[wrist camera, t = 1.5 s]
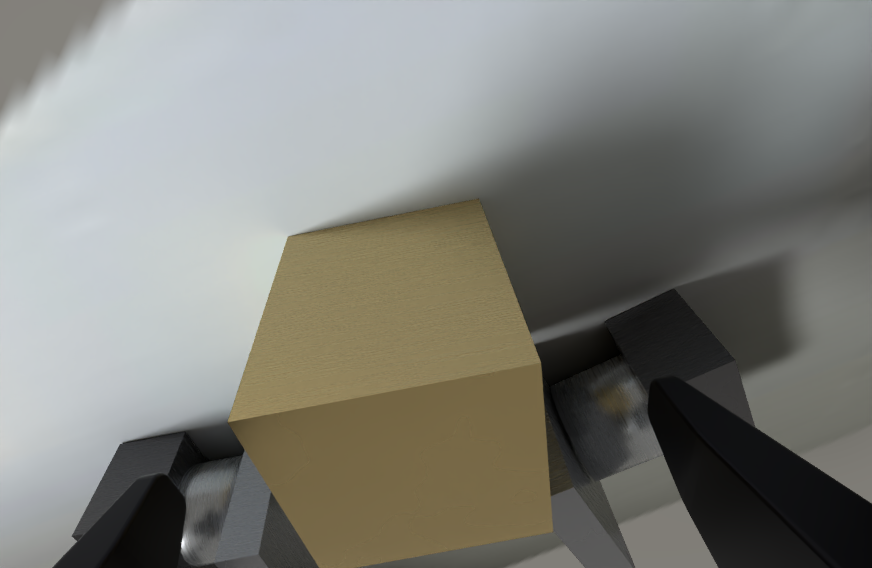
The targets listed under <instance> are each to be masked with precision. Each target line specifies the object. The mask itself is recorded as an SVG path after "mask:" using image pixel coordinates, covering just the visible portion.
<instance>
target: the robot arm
mask: <svg viewBox="0 0 872 568" xmlns="http://www.w3.org/2000/svg"><path fill="white" fill-rule="evenodd" d="M647 411H648V417H649V421H650V423H651V426H652V428H653V431H654V433H655V435H656V438H657V440H658V443H659V445H660V448H661V450H662V452H663V455H664V457H665V460H666V462H667V465H668V467H669V469H670V472H671V474H672V477H673V479H674V482H675V484H676V487H677V489H678V491H679V493H680V496H681V498H682V500H683V502H684V504H685V506H686V508H687V510H688V512H689V514H690V516H691V518H692V520H693V521H694V523H695V525H696V527H697V529H698V531H699V533H700V534H701V536H702V538H703V540H704V542H705V544H706V545H707V547H708V549H709V551H710V553H711V555H712V556H713V558H714V560H715V562H716V564H717V566H718V568H872V503H870V502H868V501H867V500H865V499H864V498H862V497H861V496H859V495H858V494H856V493H855V492H853V491H852V490H850V489H849V488H847V487H845V486H844V485H843V484H841V483H839V482H838V481H836V480H835V479H833V478H832V477H830V476H829V475H827V474H825V473H824V472H823V471H821V470H820V469H818V468H817V467H815V466H813V465H812V464H810V463H809V462H807V461H806V460H804V459H803V458H801V457H800V456H798V455H797V454H795V453H794V452H792V451H791V450H789V449H787V448H786V447H784V446H783V445H781V444H780V443H778V442H777V441H775V440H774V439H772V438H771V437H769V436H768V435H766V434H765V433H763V432H761V431H760V430H758V429H757V428H755V427H754V426H752V425H751V424H749V423H748V422H746V421H745V420H743V419H742V418H740V417H739V416H737V415H735V414H734V413H732V412H731V411H729V410H728V409H726V408H725V407H723V406H722V405H720V404H719V403H717V402H716V401H714V400H713V399H711V398H710V397H708V396H706V395H705V394H703V393H702V392H700V391H699V390H697V389H696V388H694V387H693V386H691V385H690V384H688V383H687V382H685V381H684V380H682V379H680V378H679V377H677V376H673V375H672V376H665V377H660V378H655V379H653V380H652V381H651V383H650V389H649V398H648V408H647ZM185 515H186V500H185V498H184V496H183V494H182V493H181V492H180V490H179V489H178V488H177V487H176V485H175V484H174V483H173V482H172V480H171V479H170V478H169V477H168V476H167V475H166V474H165V473H162V472H159V473H154V474H148V475H144V476H141V477H139V478H138V479H136V480H135V481H134V482H133V483H132V484H131V485H130V486H129V487H128V489H127V490H126V491H125V492H124V493H123V494H122V495H121V496H120V497H119V498H118V499H117V500H116V501H115V502H114V503H113V504H112V505H111V506H110V507H109V509H108V510H107V511H106V512H105V513H104V514H103V515H102V516H101V517H100V518H99V519H98V520H97V521H96V522H95V523H94V524H93V525H92V526H91V527H90V529H89V530H88V531H87V532H86V533H85V534H84V535H83V536H82V537H81V538H80V539H79V540H78V541H77V542H76V543H75V544H74V545H73V546H72V547H71V549H70V550H69V551H68V552H67V553H66V554H65V555H64V556H63V557H62V558H61V559H60V560H59V561H58V562H57V563H56V564H55V565H54V566H53V567H52V568H178V565H179V558H180V551H181V544H182V537H183V529H184V522H185Z"/></svg>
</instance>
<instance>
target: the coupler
mask: <svg viewBox="0 0 872 568" xmlns="http://www.w3.org/2000/svg"><path fill="white" fill-rule="evenodd" d="M228 424H229V425H230V427H231V429H232V430H233V432H234V433H235V435H236V437H237V438H238V440H239V441H240V443H241V445H242V446H243V448H244V449H245V451H246V452H247V454H248V456H249V457H250V459H251V460H252V462H253V464H254V465H255V467H256V468H257V470H258V471H259V473H260V475H261V476H262V478H263V479H264V481H265V483H266V484H267V486H268V487H269V489H270V491H271V492H272V494H273V495H274V497H275V498H276V500H277V502H278V503H279V505H280V506H281V508H282V510H283V511H284V513H285V514H286V516H287V517H288V519H289V521H290V522H291V524H292V525H293V527H294V529H295V530H296V532H297V533H298V535H299V537H300V538H301V540H302V541H303V543H304V544H305V546H306V548H307V549H308V551H309V552H310V554H311V556H312V557H313V559H314V560H315V562H316V563H317V565H318V567H319V568H357V567H362V566H368V565H373V564H379V563H384V562H390V561H395V560H401V559H407V558H412V557H418V556H423V555H429V554H434V553H440V552H445V551H451V550H456V549H462V548H467V547H473V546H479V545H484V544H490V543H495V542H501V541H506V540H512V539H517V538H523V537H528V536H534V535H539V534H545V533H551V532H553V522H552V508H551V494H550V480H549V466H548V452H547V438H546V424H545V410H544V396H543V382H542V368H541V361H540V359H539V356H538V353H537V351H536V348H535V346H534V343H533V340H532V338H531V335H530V332H529V330H528V327H527V324H526V322H525V319H524V316H523V314H522V311H521V309H520V306H519V303H518V301H517V298H516V295H515V293H514V290H513V287H512V285H511V282H510V280H509V277H508V274H507V272H506V269H505V266H504V264H503V261H502V258H501V256H500V253H499V250H498V248H497V245H496V243H495V240H494V237H493V235H492V232H491V229H490V227H489V224H488V221H487V219H486V216H485V213H484V211H483V208H482V206H481V203H480V200H479V199H474V200H469V201H464V202H459V203H454V204H449V205H444V206H439V207H434V208H429V209H424V210H419V211H414V212H409V213H404V214H399V215H394V216H389V217H384V218H379V219H374V220H369V221H364V222H359V223H354V224H349V225H344V226H339V227H334V228H329V229H324V230H319V231H314V232H309V233H304V234H299V235H294V236H289V237H288V238H287V241H286V244H285V247H284V250H283V253H282V257H281V260H280V263H279V266H278V269H277V272H276V275H275V278H274V281H273V284H272V287H271V290H270V293H269V296H268V300H267V303H266V306H265V309H264V312H263V315H262V318H261V321H260V324H259V327H258V330H257V333H256V336H255V339H254V343H253V346H252V349H251V352H250V355H249V358H248V361H247V364H246V367H245V370H244V373H243V376H242V379H241V382H240V386H239V389H238V392H237V395H236V398H235V401H234V404H233V407H232V410H231V413H230V416H229V419H228Z"/></svg>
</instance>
